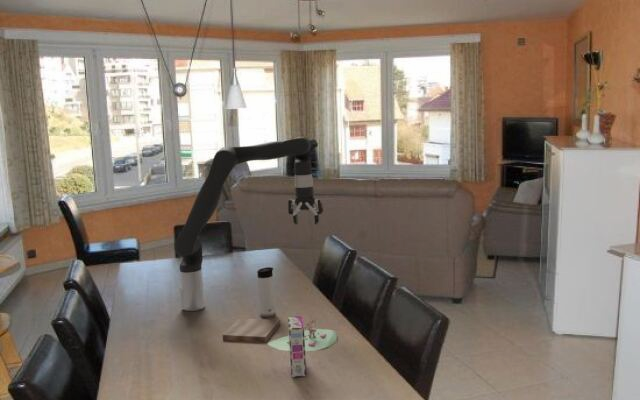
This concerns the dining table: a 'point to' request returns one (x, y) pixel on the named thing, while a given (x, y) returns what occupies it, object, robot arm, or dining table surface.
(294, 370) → the candy bar box
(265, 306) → the travel mug
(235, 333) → the walnut board
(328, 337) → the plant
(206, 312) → the dining table surface
